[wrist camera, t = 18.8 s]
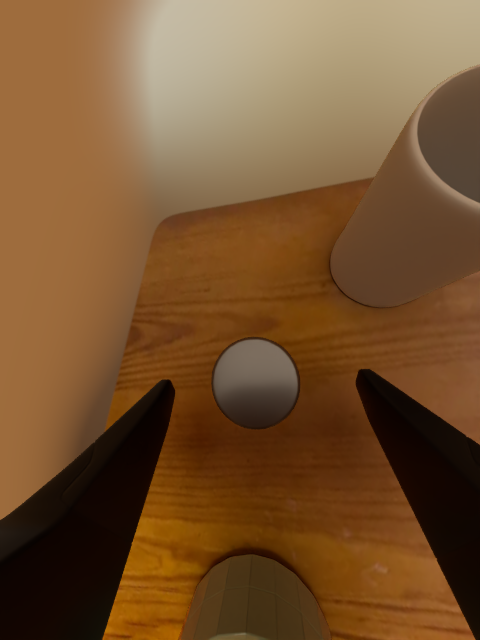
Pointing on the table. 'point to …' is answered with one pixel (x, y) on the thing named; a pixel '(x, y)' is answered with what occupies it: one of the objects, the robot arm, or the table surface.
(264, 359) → the muddler
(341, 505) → the table surface
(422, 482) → the robot arm
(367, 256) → the mug
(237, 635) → the bowl
